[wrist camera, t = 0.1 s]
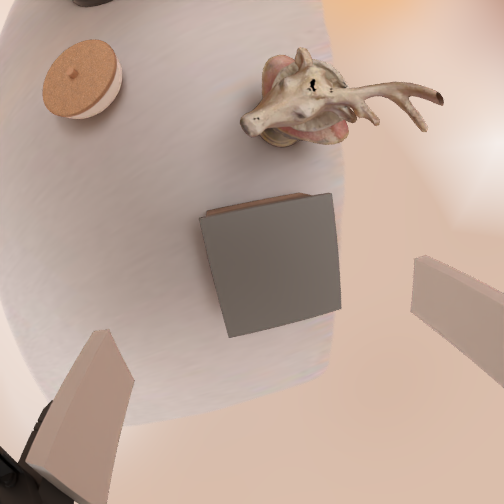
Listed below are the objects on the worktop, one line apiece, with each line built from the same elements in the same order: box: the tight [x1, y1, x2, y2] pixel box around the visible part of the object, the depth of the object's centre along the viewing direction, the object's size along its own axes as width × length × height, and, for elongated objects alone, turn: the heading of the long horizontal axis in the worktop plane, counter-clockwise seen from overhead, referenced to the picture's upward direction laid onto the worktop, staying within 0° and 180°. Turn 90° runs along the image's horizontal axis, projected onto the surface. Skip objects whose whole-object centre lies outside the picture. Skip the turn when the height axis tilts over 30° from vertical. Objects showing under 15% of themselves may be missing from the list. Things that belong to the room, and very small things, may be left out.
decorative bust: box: [240, 47, 444, 147], centre depth 23 cm, size 11×13×25 cm
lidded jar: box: [43, 40, 122, 119], centre depth 24 cm, size 11×11×9 cm
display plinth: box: [199, 193, 341, 338], centre depth 34 cm, size 14×14×10 cm
